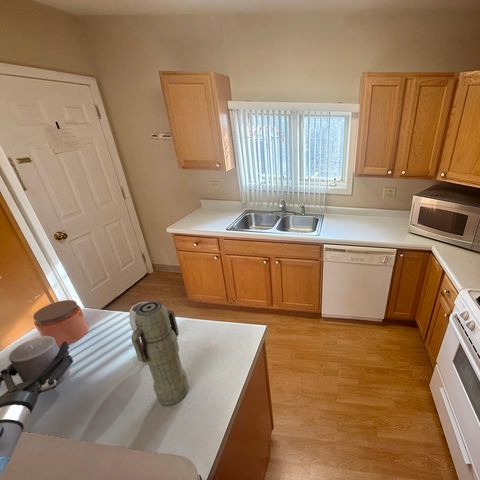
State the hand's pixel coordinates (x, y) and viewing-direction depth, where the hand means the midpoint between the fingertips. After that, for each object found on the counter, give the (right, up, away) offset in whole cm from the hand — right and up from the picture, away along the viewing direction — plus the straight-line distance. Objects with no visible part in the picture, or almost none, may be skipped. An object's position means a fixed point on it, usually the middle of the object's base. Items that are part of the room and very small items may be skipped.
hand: (44, 350), depth 81 cm
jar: (-14, -3, +21) cm, 26 cm away
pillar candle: (+2, -10, 0) cm, 10 cm away
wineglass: (+25, -7, +16) cm, 30 cm away
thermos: (+41, -15, +1) cm, 44 cm away
